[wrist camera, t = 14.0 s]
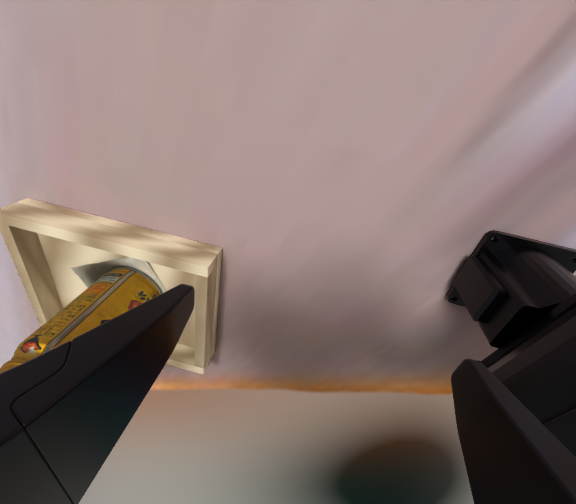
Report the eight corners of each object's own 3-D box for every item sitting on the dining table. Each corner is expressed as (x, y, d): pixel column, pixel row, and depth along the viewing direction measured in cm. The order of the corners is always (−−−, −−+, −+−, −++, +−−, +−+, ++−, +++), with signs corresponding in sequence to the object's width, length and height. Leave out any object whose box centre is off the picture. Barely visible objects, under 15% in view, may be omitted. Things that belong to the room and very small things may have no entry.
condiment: (181, 315, 28) (89, 446, 18) (114, 321, 31) (1, 440, 20) (144, 253, 25) (7, 372, 15) (73, 265, 27) (-88, 375, 17)
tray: (222, 247, 24) (208, 267, 22) (214, 351, 32) (203, 374, 29) (27, 197, 25) (-8, 211, 23) (65, 310, 33) (42, 329, 30)
